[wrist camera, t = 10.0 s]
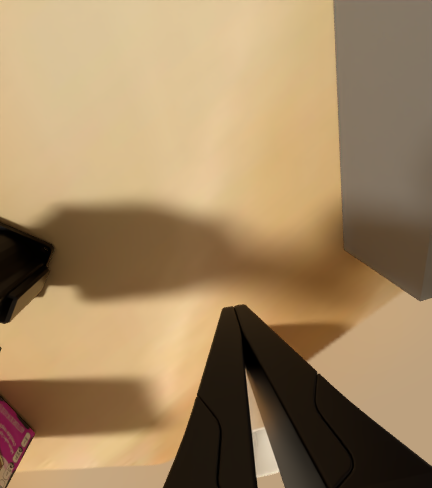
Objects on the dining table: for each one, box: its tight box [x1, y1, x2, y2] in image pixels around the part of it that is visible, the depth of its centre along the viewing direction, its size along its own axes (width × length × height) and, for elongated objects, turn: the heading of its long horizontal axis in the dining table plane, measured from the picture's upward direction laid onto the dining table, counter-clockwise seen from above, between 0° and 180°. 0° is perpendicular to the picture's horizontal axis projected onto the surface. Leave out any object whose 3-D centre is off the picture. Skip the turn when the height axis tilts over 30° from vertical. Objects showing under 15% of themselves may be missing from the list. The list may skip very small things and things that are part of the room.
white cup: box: [246, 373, 280, 477], centre depth 22 cm, size 8×8×10 cm
